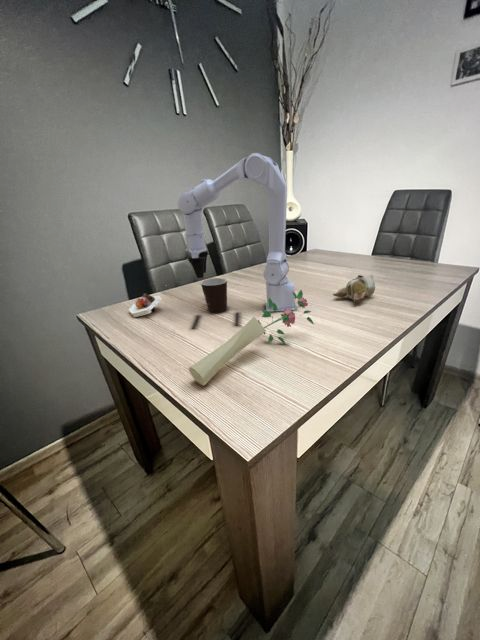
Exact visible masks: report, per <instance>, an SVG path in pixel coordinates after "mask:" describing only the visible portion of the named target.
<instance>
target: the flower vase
mask: <svg viewBox="0 0 480 640" xmlns="http://www.w3.org/2000/svg"><path fill="white" fill-rule="evenodd" d="M292 293H293V295H294V297H295V304H296V305H297V306H296V308H295V309H294V310H291V309H288V310H287V309H285V311H282V313H280V316H281V317H279V318H278V319H275V320H272V321H271V322H270V323H268V324H267V325H265V326H263V324H262V323H261V321H260V320H259V319H257V318H256V317H255V316H253V317H252V318H251V319H250V320H249V321H248V322H247V323H246V324H245V325H244V326H243V327H242V328H240V330H239V331H238V332H236V333H234V335H233V336H231V338H229V339H228V340H227V341H226V342H225V343H223V344H221V345H220V346H219V347H217V348H216V349H215V350H213V351H212V352H210V353H209V354H207V355H205V357H203V358H201V359H200V360H199V361H197V362H196V363H194V364H193V365H191V366H189V367H188V372H189V374H190V375H191V377H192V378H193V379H194V381H196V382H197V383H198V384H199V385H201V386H203V387H204V386H206V385H207V384H208V382H210V381H211V379H212V378H213V377H215V375H216V374H217V373H218V372H219V371H220V370H221V369H222V368H223V367H225V365H226V364H228V363H229V362H230V360H231V359H233V358H234V357H235V356H236V355H237V354H238V353H239V352H241V351H242V350H243V349H245V348H246V347H247V346H249V345H250V344H251V343H252V342H254V341H255V340H256V339H259V338H260V337H261V336H262V335H266V332H267V330H269V331H270V332H271V334H269V336H268V338H267V339H268V340H267V344H269V343H271V342H273V340H274V336H273V335H275V334H274V333H273V332H275V333H277V334H279V335H285V332H284V331H283V330H282V329H277V330H276V331H274V330H271V329H269V328H268V327H270V326H272V325H273V324H275V323H278V322H279V321H282V322H281V323H282V324H284V326H286V327H287V328H289V327H290V328H291V327H292V325H294V324H295V323H296V313H295V311H296V310H297V309H298V308H302V309H305V308H306V307H308V304H309V303H308V301H307V298H305V297H303V295H304V293H303V289H300V290H299V291H298V293H297V294H296V292H295V293H294V292H292ZM268 302H269V307H270V308H272V307H273V310H274V311H272V312H269V311H267V310H266V309H262V312H263V314H262V315H261V318H265V319H266V318H271V319H274V315H275V313H273V312H278V311H277V306H276V304H275V303H274V302H272V300H271V299H270V298H269V301H268ZM286 310H287V311H286ZM309 313H312V311H311V310H303V313H302V314H301V315H300V317H301V318H304V319H306V320H307V321H308V322H309V323H310V324H312V325H315V324H314V321H313V319H312V318H311V317H309V316H307V317H305V316H302V315H304V314H305V315H306V314H309ZM266 329H267V330H266ZM272 334H273V335H272ZM276 338H277V339H278V340H280V341H281V342H282V343H283V345H286V342H285V339H284V338H283V337H281V336H276Z"/></svg>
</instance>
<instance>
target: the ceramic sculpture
mask: <svg viewBox="0 0 480 640" xmlns="http://www.w3.org/2000/svg"><path fill="white" fill-rule="evenodd" d="M375 290H376V284H375V279H374V275H373V274H370V275H367V276H364V275H361V274H359V275H357V276H356V278H353V279H350V280H349V281H348V282H347V284H346V286H345V287H342V288H340V289H339V290H338V291H337V292H336V293H332V296H334V297H338V298H345V297H347V298H348V299H350V300H352V301H353V302H355V303H360V302H361V303H362V301H363V300H364V299H365V298H366V297H371V296H373V295H374V293H375Z"/></svg>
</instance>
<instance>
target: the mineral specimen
mask: <svg viewBox="0 0 480 640" xmlns="http://www.w3.org/2000/svg"><path fill="white" fill-rule="evenodd" d="M161 301H163V298H162V297H160V296H159V295H154V296H152V295H150V294H148V293H145V292H143V294H142V296H141V298H139V297H138V298H137V299H136V301H135V303H133V304H132V305H131V307H130V308H128V311H129V312H130V314H131V315H132V316H133V317H134V318H137V317H142V316H145V315H149V314H151V313H154V312H155V308H156V307H157V306H158V304H160V302H161Z"/></svg>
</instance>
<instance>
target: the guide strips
mask: <svg viewBox="0 0 480 640" xmlns="http://www.w3.org/2000/svg"><path fill="white" fill-rule="evenodd" d="M239 315H240V314H239V312H236V313H235V326H236V327H237V326H239ZM199 318H200V315H199V314H198V315H196V316H195V320H194V322H193V324H192V327H191V329H192V330H195V329H196V327H197V324H198V321H199Z"/></svg>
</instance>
